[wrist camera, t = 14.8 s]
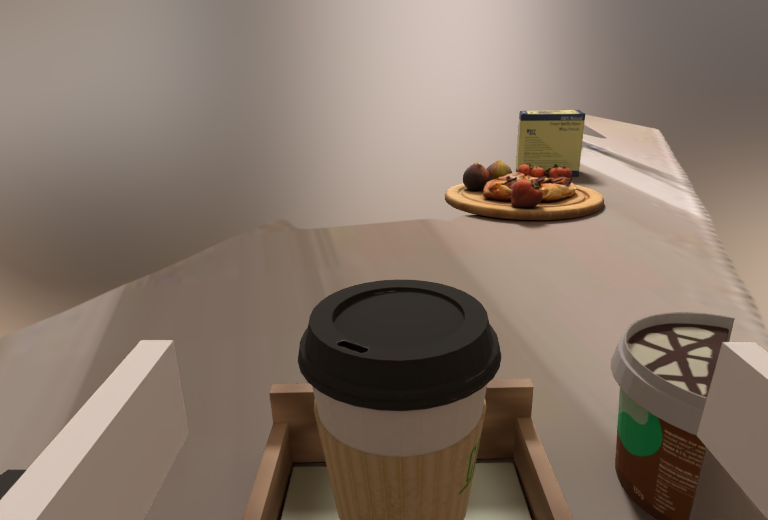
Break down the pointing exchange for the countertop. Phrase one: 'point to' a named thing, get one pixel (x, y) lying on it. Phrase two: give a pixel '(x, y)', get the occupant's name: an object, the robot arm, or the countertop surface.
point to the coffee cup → (400, 396)
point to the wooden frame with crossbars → (490, 480)
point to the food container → (665, 406)
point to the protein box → (550, 139)
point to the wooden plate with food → (522, 193)
